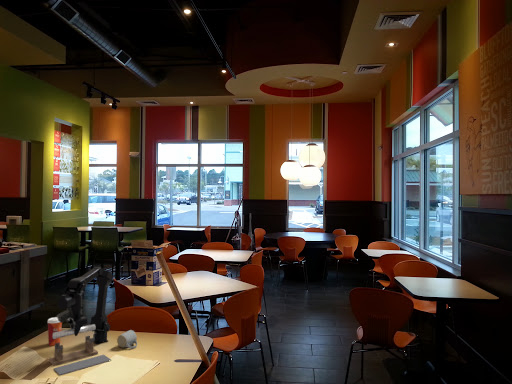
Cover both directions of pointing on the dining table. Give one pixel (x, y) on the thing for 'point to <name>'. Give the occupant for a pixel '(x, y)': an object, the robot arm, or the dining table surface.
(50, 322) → the paper cup
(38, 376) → the dining table surface
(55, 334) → the steel rod
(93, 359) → the grey flat tapered piece
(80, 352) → the hook stand
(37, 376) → the dining table surface
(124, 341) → the ceramic mug
